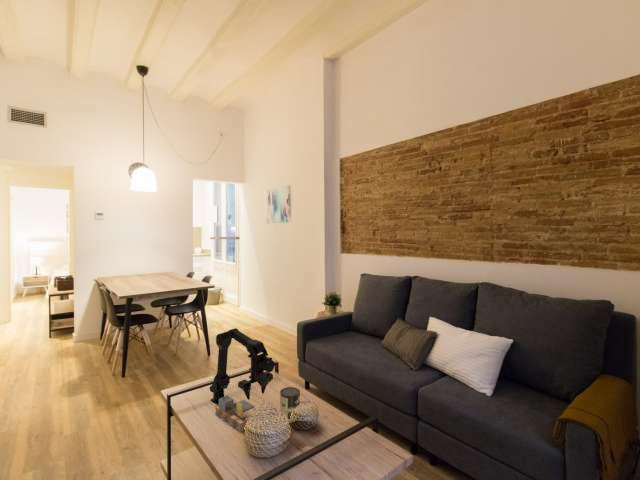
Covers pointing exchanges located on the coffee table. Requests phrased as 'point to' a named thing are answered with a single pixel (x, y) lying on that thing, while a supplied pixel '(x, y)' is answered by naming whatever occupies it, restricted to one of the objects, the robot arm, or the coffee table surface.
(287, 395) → the coffee can
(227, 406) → the cap block
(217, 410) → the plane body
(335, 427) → the coffee table surface
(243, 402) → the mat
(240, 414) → the lever
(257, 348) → the robot arm
